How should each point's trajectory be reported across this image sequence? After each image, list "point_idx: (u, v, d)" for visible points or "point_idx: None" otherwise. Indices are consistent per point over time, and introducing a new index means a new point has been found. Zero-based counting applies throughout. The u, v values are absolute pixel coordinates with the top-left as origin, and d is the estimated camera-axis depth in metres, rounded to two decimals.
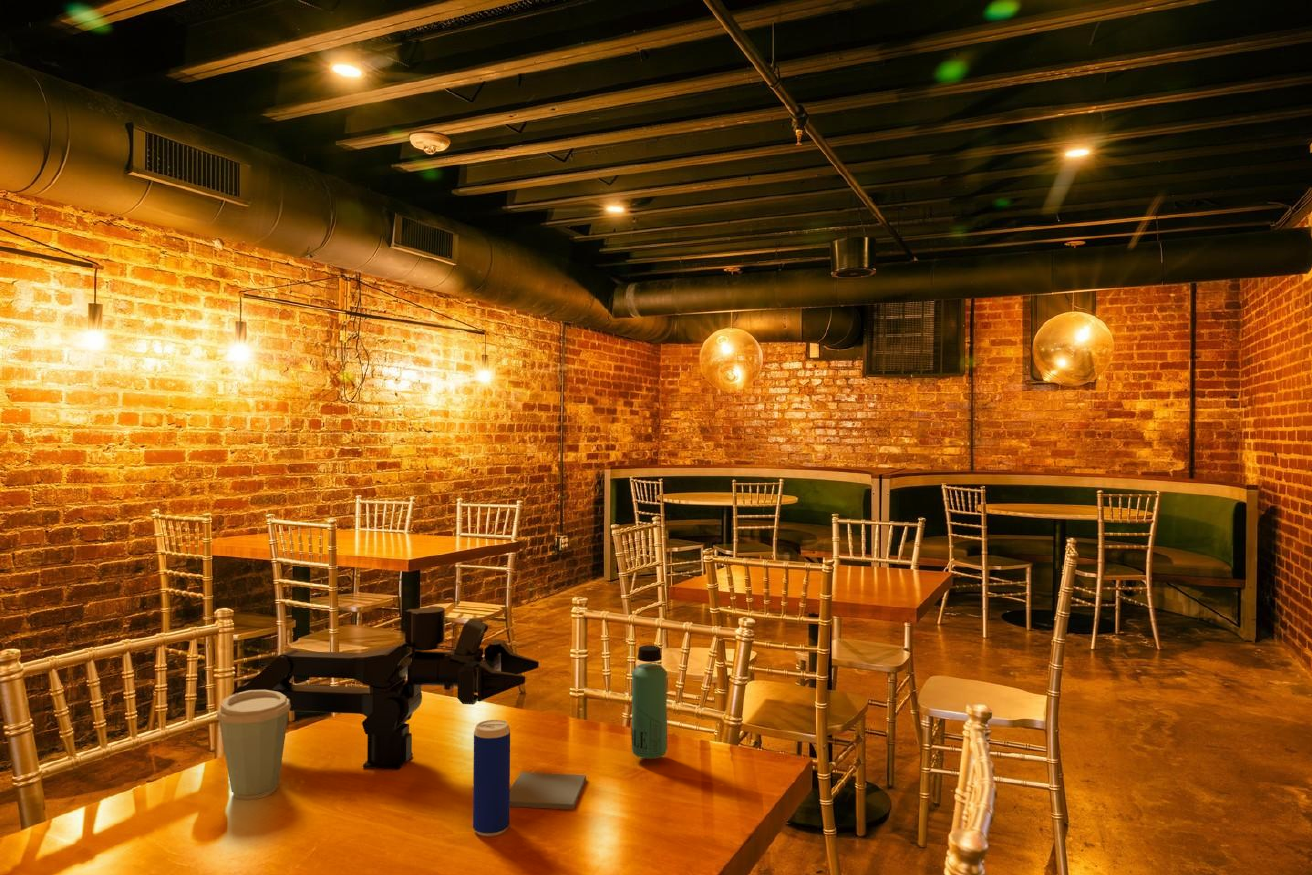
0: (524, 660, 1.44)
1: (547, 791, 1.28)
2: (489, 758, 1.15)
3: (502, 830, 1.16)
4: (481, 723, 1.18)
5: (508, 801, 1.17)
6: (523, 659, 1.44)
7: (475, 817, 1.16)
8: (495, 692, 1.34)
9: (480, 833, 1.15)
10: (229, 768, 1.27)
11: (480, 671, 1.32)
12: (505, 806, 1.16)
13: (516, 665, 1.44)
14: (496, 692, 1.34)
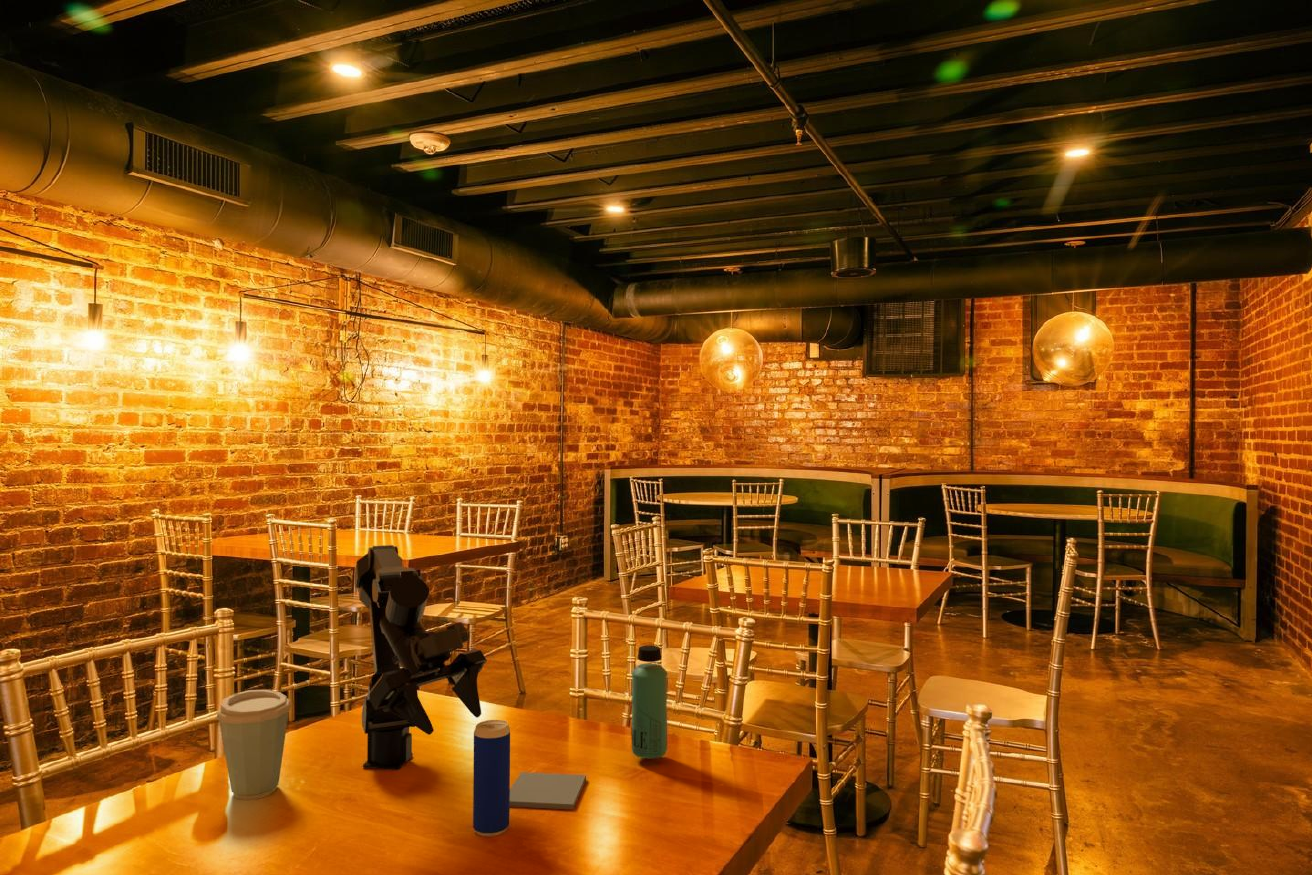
0: (473, 699, 1.27)
1: (547, 791, 1.28)
2: (489, 758, 1.15)
3: (502, 830, 1.16)
4: (481, 723, 1.18)
5: (508, 801, 1.17)
6: (473, 698, 1.27)
7: (475, 817, 1.16)
8: (402, 716, 1.20)
9: (480, 833, 1.15)
10: (229, 768, 1.27)
11: (398, 692, 1.18)
12: (505, 806, 1.16)
13: (466, 695, 1.28)
14: (403, 717, 1.20)
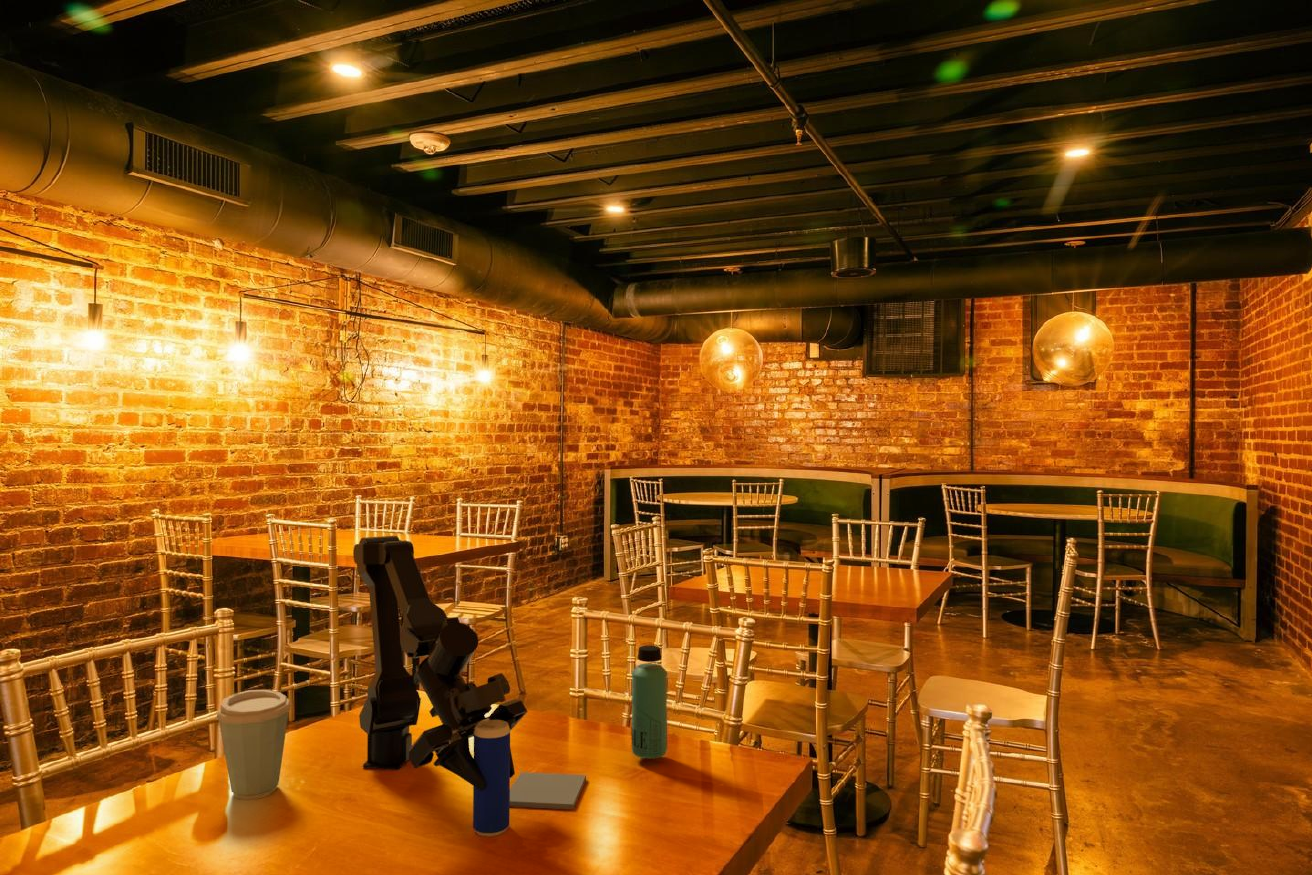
0: None
1: (547, 791, 1.28)
2: (489, 758, 1.15)
3: (502, 830, 1.16)
4: (481, 723, 1.18)
5: (508, 801, 1.17)
6: None
7: (475, 817, 1.16)
8: (453, 770, 1.16)
9: (480, 833, 1.15)
10: (229, 768, 1.27)
11: (450, 747, 1.14)
12: (505, 806, 1.16)
13: None
14: (454, 771, 1.16)
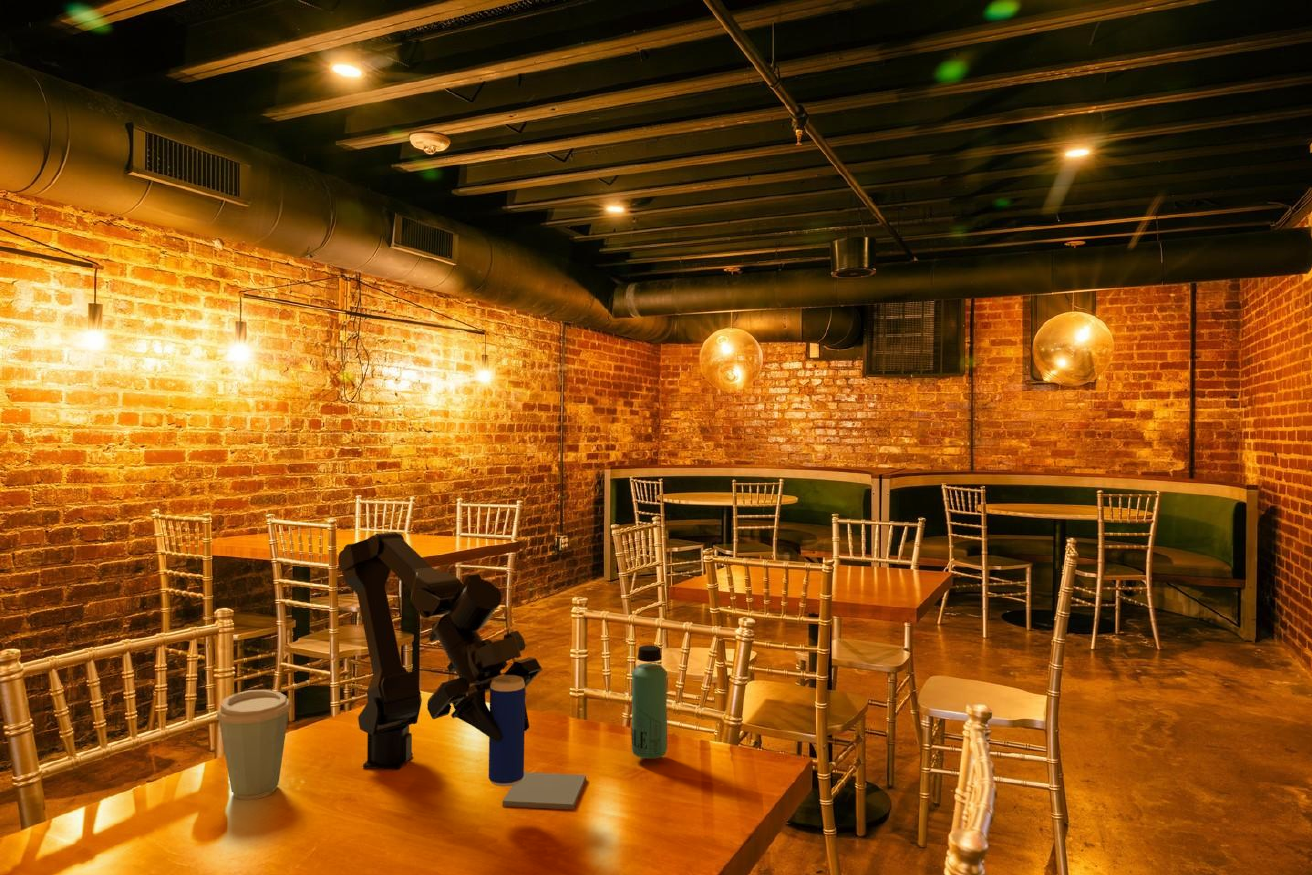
0: None
1: (547, 791, 1.28)
2: (505, 711, 1.18)
3: (517, 781, 1.19)
4: (497, 678, 1.22)
5: (523, 753, 1.21)
6: None
7: (491, 767, 1.19)
8: (470, 722, 1.19)
9: (495, 783, 1.19)
10: (229, 768, 1.27)
11: (467, 699, 1.17)
12: (519, 758, 1.20)
13: None
14: (471, 723, 1.19)
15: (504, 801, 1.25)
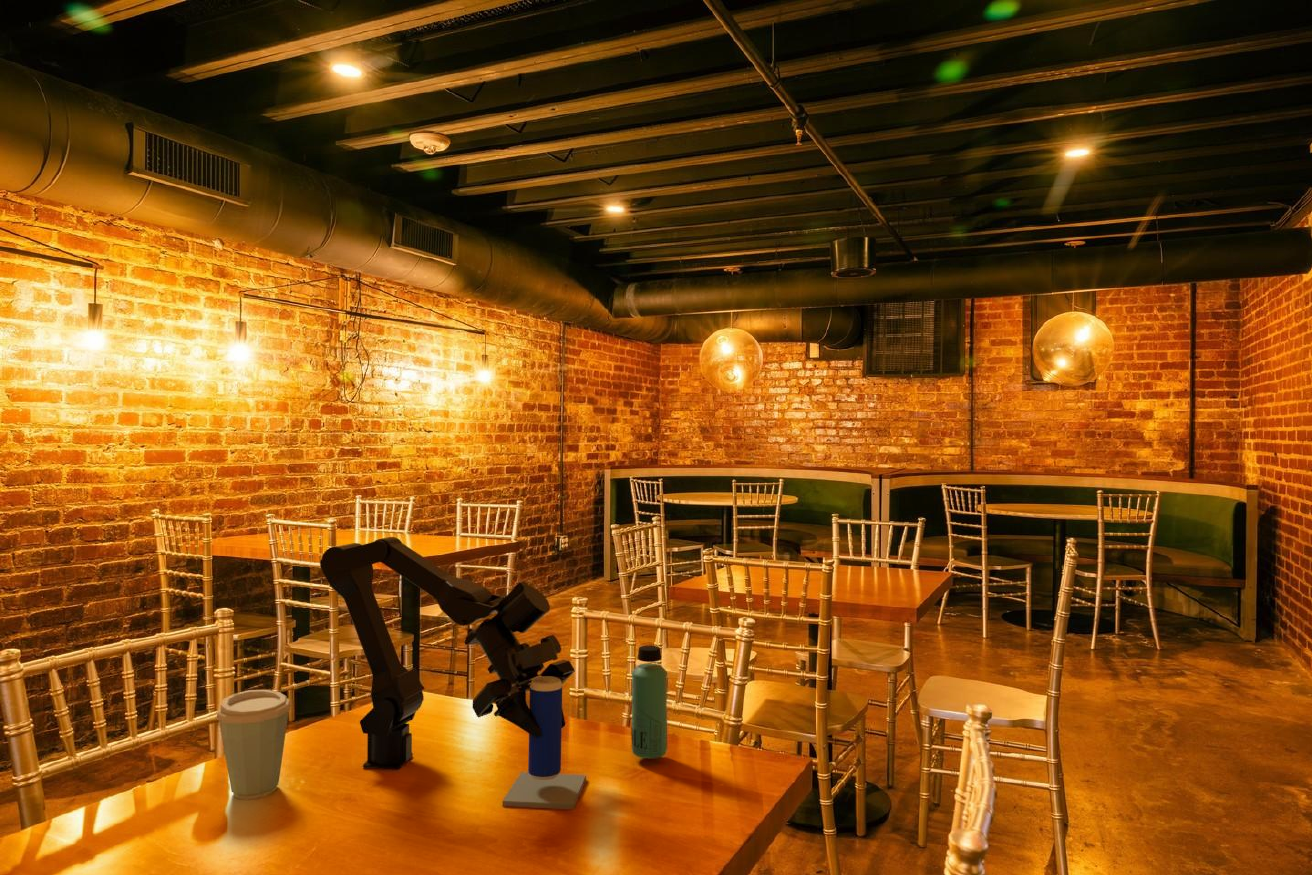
0: None
1: (547, 791, 1.28)
2: (545, 709, 1.27)
3: (555, 774, 1.28)
4: (536, 679, 1.31)
5: (560, 749, 1.30)
6: None
7: (531, 762, 1.28)
8: (511, 720, 1.28)
9: (535, 777, 1.28)
10: (229, 768, 1.27)
11: (510, 698, 1.26)
12: (557, 753, 1.29)
13: None
14: (512, 721, 1.28)
15: (504, 801, 1.25)
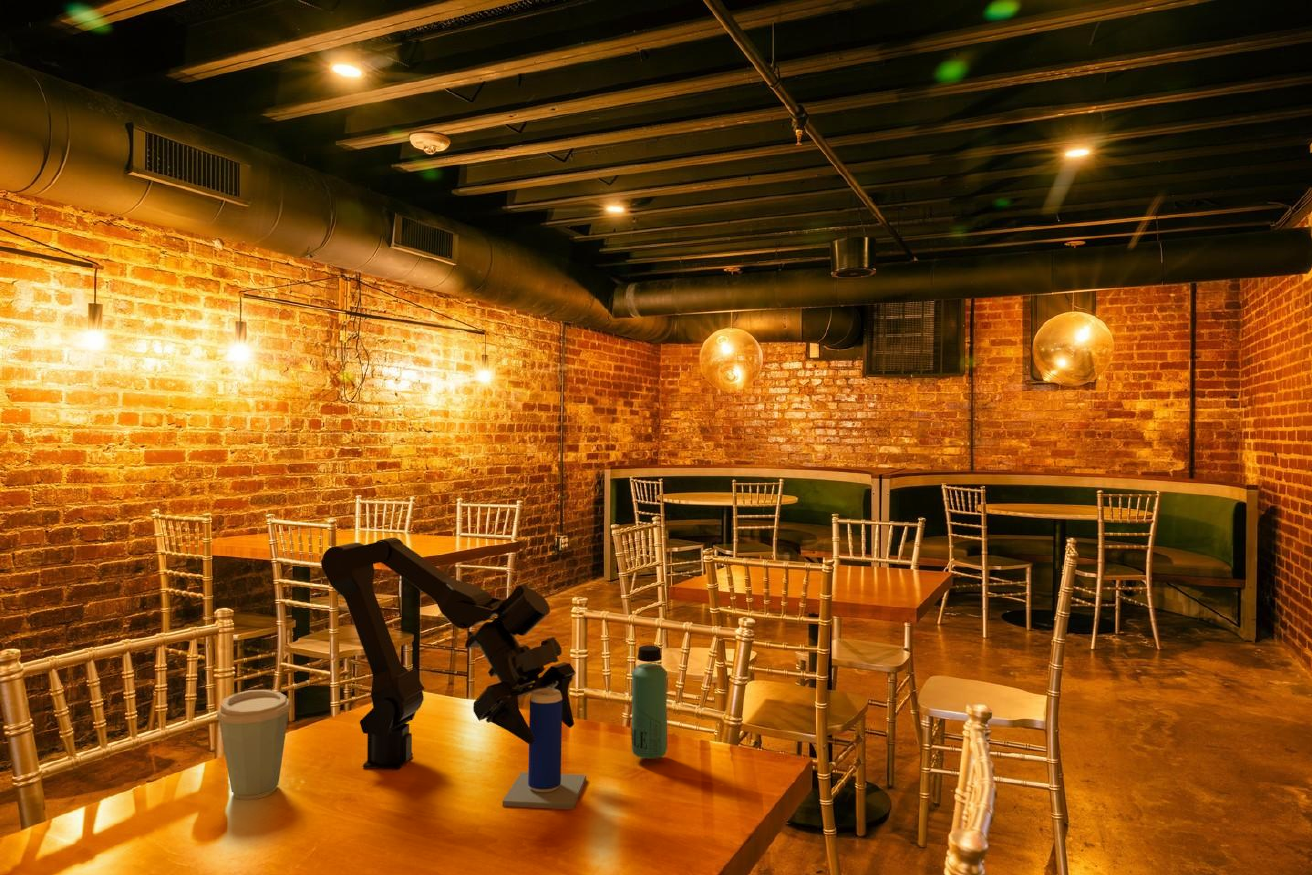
0: (565, 710, 1.34)
1: None
2: (544, 722, 1.28)
3: (555, 787, 1.28)
4: (536, 691, 1.31)
5: (560, 761, 1.30)
6: (566, 709, 1.34)
7: (531, 775, 1.28)
8: (504, 726, 1.27)
9: (535, 789, 1.28)
10: (229, 768, 1.27)
11: (502, 704, 1.25)
12: (557, 765, 1.29)
13: None
14: (505, 727, 1.27)
15: (504, 801, 1.25)
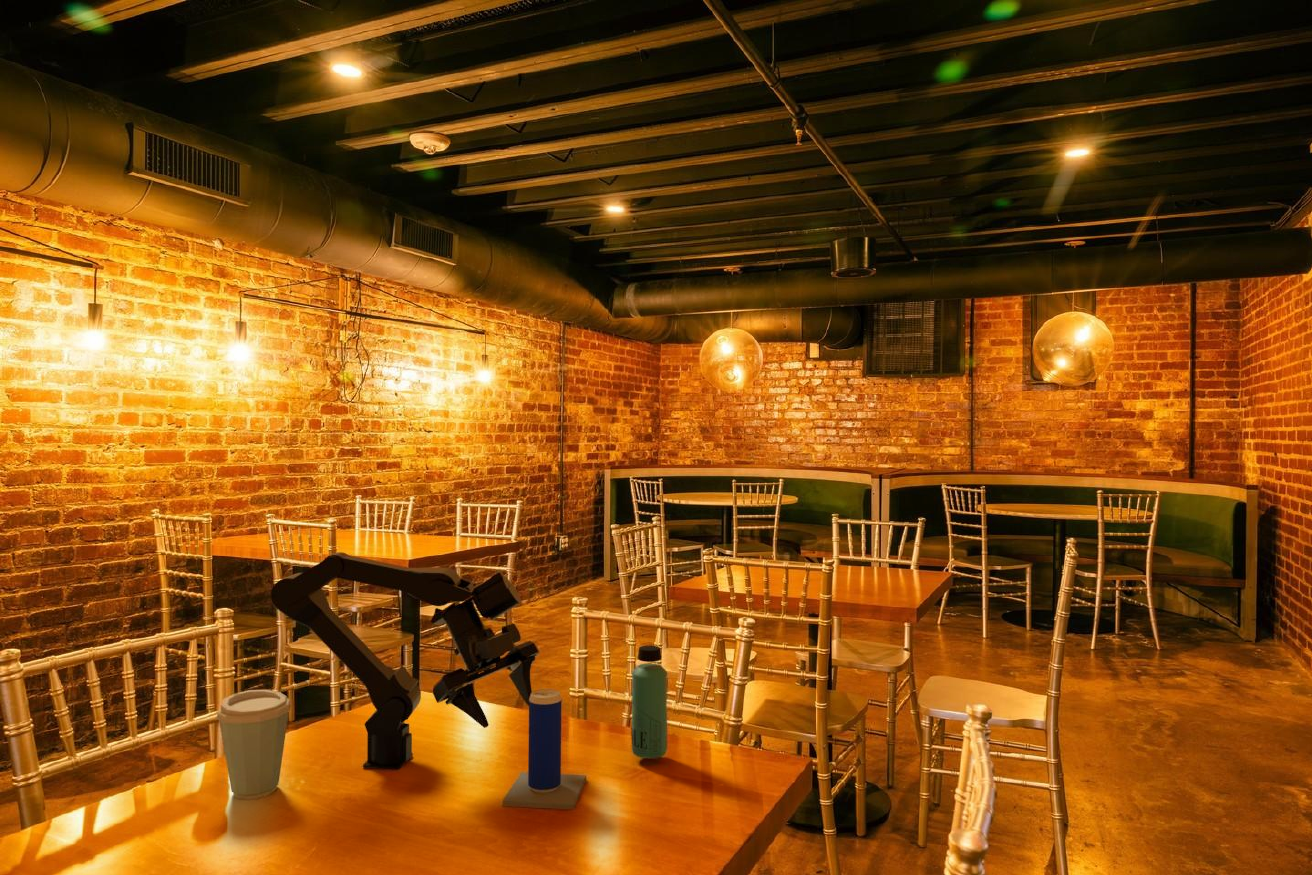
0: (526, 690, 1.40)
1: None
2: (544, 723, 1.27)
3: (555, 787, 1.28)
4: (535, 691, 1.31)
5: (560, 762, 1.30)
6: (526, 689, 1.40)
7: (530, 775, 1.28)
8: (462, 709, 1.35)
9: (535, 790, 1.28)
10: (229, 768, 1.27)
11: (456, 693, 1.32)
12: (557, 766, 1.29)
13: (520, 684, 1.41)
14: (463, 709, 1.35)
15: (504, 801, 1.25)
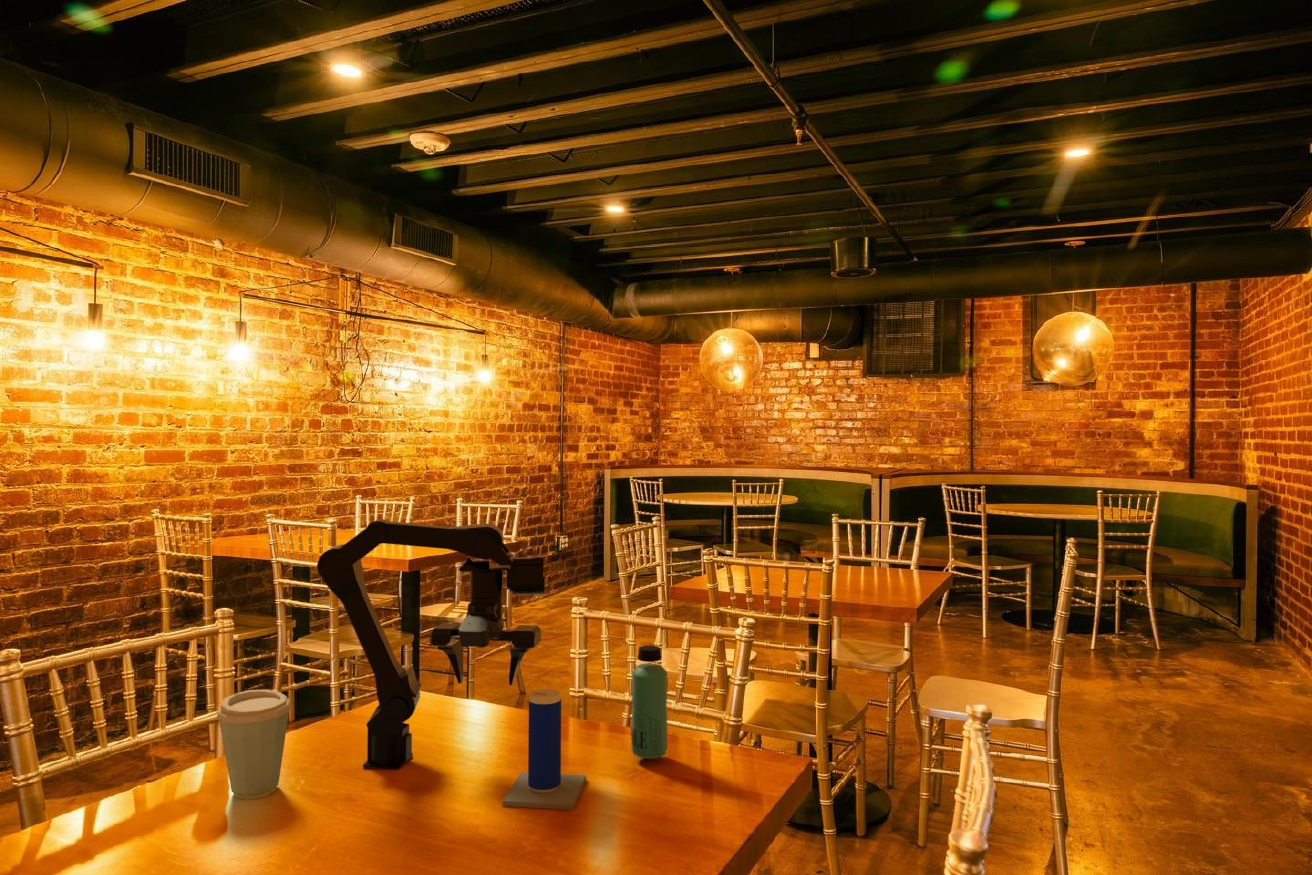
0: None
1: None
2: (544, 722, 1.27)
3: (555, 787, 1.28)
4: (535, 691, 1.31)
5: (560, 762, 1.30)
6: None
7: (530, 775, 1.28)
8: None
9: (535, 790, 1.28)
10: (229, 768, 1.27)
11: None
12: (557, 766, 1.29)
13: None
14: None
15: (504, 801, 1.25)
